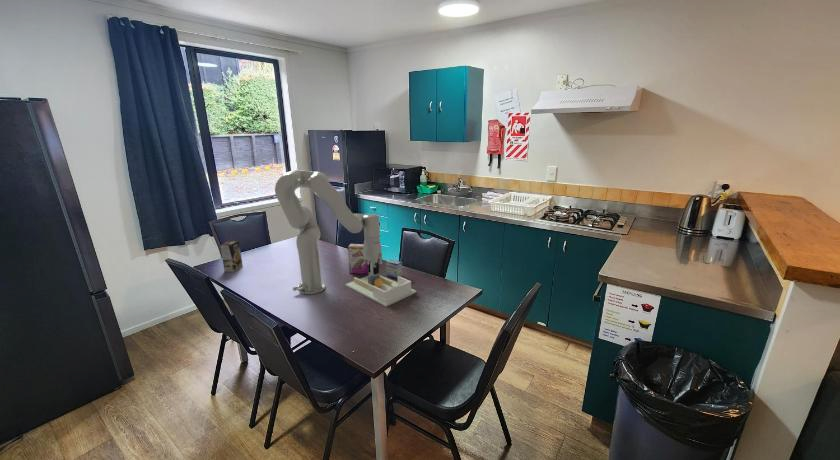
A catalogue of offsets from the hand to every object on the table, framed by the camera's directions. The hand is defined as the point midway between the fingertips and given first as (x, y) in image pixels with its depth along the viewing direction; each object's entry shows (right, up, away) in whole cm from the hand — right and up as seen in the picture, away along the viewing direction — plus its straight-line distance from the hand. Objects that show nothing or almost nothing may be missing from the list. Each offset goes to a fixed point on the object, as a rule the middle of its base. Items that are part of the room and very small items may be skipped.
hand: (373, 272), depth 177 cm
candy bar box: (-11, -3, +20) cm, 23 cm away
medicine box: (+9, -4, +15) cm, 18 cm away
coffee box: (-86, -1, +25) cm, 89 cm away
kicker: (0, -6, +2) cm, 6 cm away
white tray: (+3, -8, -1) cm, 9 cm away
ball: (+3, -5, -1) cm, 6 cm away
